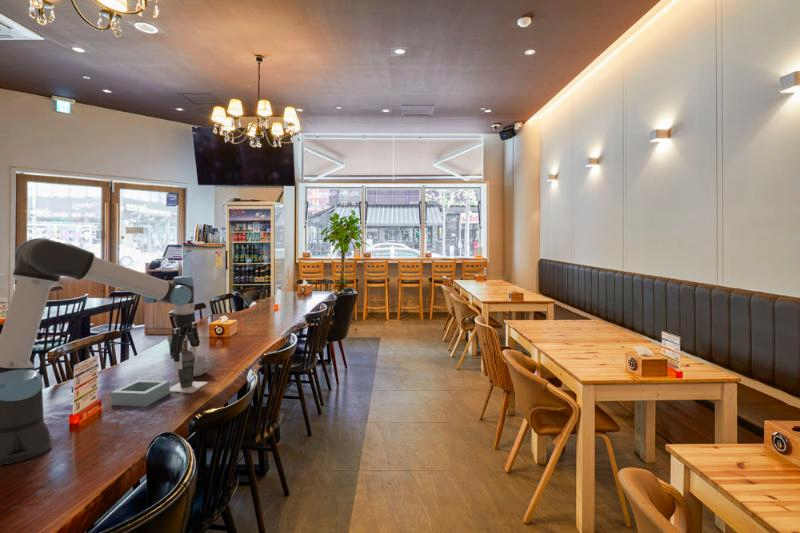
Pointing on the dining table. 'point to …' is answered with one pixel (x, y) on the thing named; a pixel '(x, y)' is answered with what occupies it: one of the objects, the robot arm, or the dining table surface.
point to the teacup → (201, 365)
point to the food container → (182, 346)
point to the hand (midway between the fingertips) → (186, 365)
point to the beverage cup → (186, 368)
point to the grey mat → (191, 389)
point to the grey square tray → (140, 393)
